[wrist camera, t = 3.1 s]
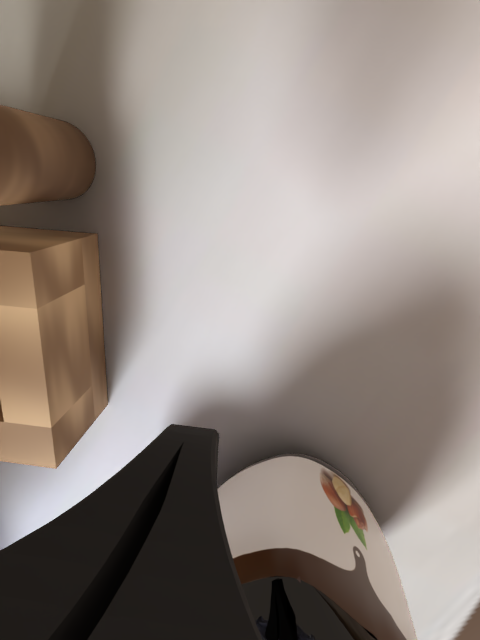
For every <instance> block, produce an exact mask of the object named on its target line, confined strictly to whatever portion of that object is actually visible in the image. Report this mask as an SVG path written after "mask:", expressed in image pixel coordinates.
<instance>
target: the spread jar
mask: <svg viewBox="0 0 480 640" xmlns="http://www.w3.org/2000/svg"><path fill="white" fill-rule="evenodd" d="M217 490H218V496H219V502H220V508H221V513H222V518H223V523H224V527H225V531H226V535H227V539H228V543H229V547H230V550H231V554H232V557H233V561H234V564H235V567H236V570H237V573H238V576H239V579H240V582H241V585H242V587H243V590H244V593H245V596H246V599H247V602H248V604H249V607H250V610H251V612H252V615H253V617H254V620H255V622H256V625H257V627H258V630H259V632H260V634H261V637H262V639H263V640H417V636H416V632H415V629H414V625H413V622H412V618H411V615H410V611H409V608H408V604H407V600H406V597H405V593H404V590H403V586H402V583H401V580H400V577H399V574H398V571H397V568H396V565H395V562H394V559H393V556H392V554H391V551H390V549H389V546H388V544H387V542H386V539H385V537H384V535H383V532H382V531H381V529H380V527H379V525H378V523H377V521H376V519H375V517H374V515H373V514H372V512H371V510H370V508H369V506H368V505H367V503H366V501H365V500H364V498H363V497H362V495H361V494H360V493H359V491H358V490H357V489H356V487H355V486H354V485H353V484H352V483H351V481H350V480H349V479H348V478H347V477H345V476H344V475H343V474H342V473H341V472H340V471H338V470H337V469H335V468H334V467H332V466H331V465H329V464H327V463H325V462H324V461H322V460H319V459H317V458H314V457H311V456H308V455H302V454H282V455H277V456H273V457H270V458H267V459H264V460H261V461H258V462H256V463H254V464H252V465H250V466H248V467H246V468H244V469H242V470H241V471H239V472H238V473H236V474H235V475H233V476H232V477H231V478H230V479H229V480H227V481H226V482H225V483H224V484H223V485H221V486H220V487H219V488H218V489H217Z"/></svg>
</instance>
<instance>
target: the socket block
mask: <svg viewBox="0 0 480 640" xmlns="http://www.w3.org/2000/svg"><path fill="white" fill-rule="evenodd" d="M107 405H108V398H107V381H106V365H105V348H104V332H103V316H102V299H101V283H100V267H99V250H98V234H95V233H83V232H70V231H58V230H46V229H33V228H21V227H9V226H0V461H4V462H11V463H18V464H26V465H33V466H40V467H48V468H55V469H56V468H57V467H58V466H59V465H60V463H61V462H62V461H63V460H64V458H65V457H66V456H67V455H68V453H69V452H70V451H71V450H72V448H73V447H74V446H75V445H76V443H77V442H78V441H79V440H80V439H81V437H82V436H83V435H84V434H85V432H86V431H87V430H88V429H89V427H90V426H91V425H92V424H93V422H94V421H95V420H96V419H97V417H98V416H99V415H100V414H101V412H102V411H103V410H104V409H105V407H106V406H107Z"/></svg>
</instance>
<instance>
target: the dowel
mask: <svg viewBox="0 0 480 640" xmlns="http://www.w3.org/2000/svg"><path fill="white" fill-rule="evenodd" d="M95 169H96V162H95V156H94V152H93V149H92V147H91V145H90V143H89V141H88V139H87V138H86V137H85V135H84V134H83V133H82V132H81V131H80V130H79V129H78V128H76V127H75V126H73V125H72V124H70V123H68V122H65V121H61V120H57V119H53V118H49V117H46V116H42V115H38V114H34V113H30V112H26V111H22V110H18V109H14V108H11V107H7V106H3V105H0V206H2V205H13V204H23V203H34V202H45V201H56V200H67V199H73V198H76V197H78V196H80V195H82V194H83V193H85V192H86V191H87V190H88V188H89V187H90V185H91V184H92V182H93V179H94V175H95Z"/></svg>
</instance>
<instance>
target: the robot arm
mask: <svg viewBox="0 0 480 640" xmlns="http://www.w3.org/2000/svg"><path fill="white" fill-rule="evenodd" d="M218 441H219V433H218V432H217V431H216V430H214V429H206V428H198V427H190V426H182V425H174V424H171V425H170V426H168V427H167V428H166V429H165V430H164V431H163V432H162V433H161V434H160V435H159V436H158V437H157V438H156V439H155V440H153V441H152V442H151V443H150V444H149V445H148V446H147V447H146V448H145V449H144V450H143V451H142V452H141V453H139V454H138V455H137V456H136V457H135V458H134V459H133V460H131V461H130V462H129V463H128V464H127V465H126V466H125V467H123V468H122V469H121V470H120V471H119V472H118V473H116V474H115V475H114V476H113V477H111V478H110V479H109V480H108V481H106V482H105V483H104V484H103V485H101V486H100V487H99V488H98V489H96V490H95V491H94V492H92V493H91V494H90V495H88V496H87V497H86V498H84V499H83V500H82V501H80V502H79V503H77V504H76V505H75V506H73V507H72V508H70V509H69V510H67V511H66V512H64V513H63V514H61V515H60V516H58V517H57V518H55V519H54V520H52V521H51V522H49V523H47V524H46V525H44V526H42V527H41V528H39V529H37V530H35V531H34V532H32V533H30V534H28V535H27V536H25V537H23V538H22V539H20V540H18V541H16V542H15V543H13V544H11V545H9V546H8V547H6V548H4V549H2V550H0V640H263V639H262V637H261V634H260V632H259V630H258V627H257V625H256V622H255V620H254V617H253V615H252V612H251V610H250V607H249V604H248V602H247V599H246V596H245V593H244V590H243V587H242V585H241V582H240V579H239V576H238V573H237V570H236V567H235V564H234V561H233V557H232V554H231V550H230V547H229V543H228V539H227V535H226V531H225V527H224V523H223V518H222V513H221V508H220V502H219V496H218V490H217V461H218Z"/></svg>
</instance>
